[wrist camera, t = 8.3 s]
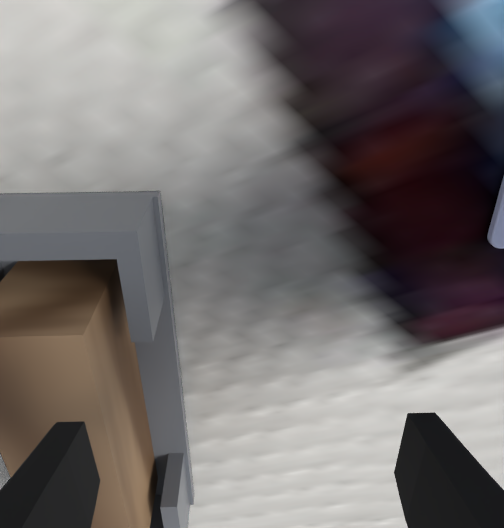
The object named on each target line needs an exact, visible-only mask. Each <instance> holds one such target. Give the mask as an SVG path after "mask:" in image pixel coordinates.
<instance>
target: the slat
mask: <svg viewBox="0 0 504 528" xmlns="http://www.w3.org/2000/svg"><path fill="white" fill-rule="evenodd" d="M79 421H84V422H85V425H86V429H87V433H88V436H89V440H90V444H91V448H92V451H93V455H94V459H95V462H96V466H97V470H98V473H99V477H100V485H99V490H98V495H97V501H96V506H95V511H94V515H93V520H92V525H91V528H150V523H151V517H152V511H153V505H154V500H155V494H156V488H157V482H158V475H157V469H156V463H155V458H154V452H153V446H152V440H151V434H150V429H149V423H148V417H147V411H146V405H145V400H144V394H143V388H142V382H141V376H140V371H139V365H138V359H137V353H136V347H135V342H131V338H130V333H129V327H128V321H127V315H126V310H125V304H124V298H123V293H122V287H121V281H120V276H119V270H118V264H117V259H100V260H45V261H18V262H17V263H16V264H15V265H14V267H13V268H12V269H11V270H10V271H9V272H8V273H7V275H6V276H5V277H4V278H3V279H2V280H1V282H0V453H1V456H2V458H3V460H4V463H5V465H6V467H7V470H8V472H9V475H10V477H12V476H13V474H14V473H15V472H16V471H17V470H18V468H19V467H20V466H21V465H22V464H23V462H24V461H25V460H26V459H27V457H28V456H29V455H30V454H31V452H32V451H33V450H34V449H35V447H36V446H37V445H38V444H39V442H40V441H41V440H42V439H43V437H44V436H45V435H46V434H47V432H48V431H49V430H50V429H51V427H52V426H53V425H54V424H55V423H56V422H79Z"/></svg>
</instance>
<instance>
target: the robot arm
mask: <svg viewBox="0 0 504 528" xmlns="http://www.w3.org/2000/svg"><path fill="white" fill-rule="evenodd" d="M487 239H488V241H489V243H490V244H491V245H492V246H494V247H495V248H500V249H503V248H504V176H503V180H502V184H501V187H500V191H499V194H498V198H497V202H496V205H495V209H494V213H493V216H492V220H491V224H490V227H489V231H488V235H487ZM394 474H395V478H396V482H397V487H398V491H399V495H400V500H401V504H402V508H403V512H404V516H405V520H406V523H407V526H408V528H504V490H503V489H502V488H501V487H500V486H499V485H498V483H497V482H496V481H495V480H494V479H493V478H492V477H491V476H490V475H489V474H488V472H487V471H486V470H485V469H484V468H483V467H482V466H481V465H480V464H479V462H478V461H477V460H476V459H475V458H474V457H473V456H472V455H471V453H470V452H469V451H468V450H467V449H466V448H465V447H464V445H463V444H462V443H461V442H460V441H459V440H458V438H457V437H456V436H455V435H454V434H453V433H452V431H451V430H450V429H449V428H448V427H447V426H446V425H445V423H444V422H443V421H442V420H441V419H440V418H439V416H438V415H436V414H435V413H408V414H407V418H406V423H405V427H404V432H403V436H402V440H401V445H400V449H399V454H398V458H397V462H396V467H395V471H394ZM99 485H100V477H99V473H98V470H97V466H96V462H95V459H94V455H93V451H92V448H91V444H90V440H89V436H88V433H87V429H86V425H85V422H84V421H79V422H56V423H55V424H54V425H53V426H52V427H51V429H50V430H49V431H48V432H47V434H46V435H45V436H44V437H43V439H42V440H41V441H40V442H39V444H38V445H37V446H36V447H35V449H34V450H33V451H32V452H31V454H30V455H29V456H28V457H27V459H26V460H25V461H24V462H23V464H22V465H21V466H20V467H19V468H18V470H17V471H16V472H15V473H14V474H13V476H12V477H11V478H10V479H9V481H8V482H7V483H6V484H5V485H4V486H3V488H2V489H1V490H0V528H91V525H92V520H93V515H94V511H95V506H96V501H97V495H98V490H99Z"/></svg>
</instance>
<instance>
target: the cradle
mask: <svg viewBox="0 0 504 528" xmlns="http://www.w3.org/2000/svg"><path fill="white" fill-rule="evenodd" d="M100 259H117V264H118V270H119V276H120V281H121V287H122V293H123V298H124V304H125V310H126V315H127V321H128V327H129V333H130V338H131V342H135V347H136V353H137V359H138V365H139V371H140V376H141V382H142V388H143V394H144V400H145V405H146V411H147V417H148V423H149V429H150V434H151V440H152V446H153V452H154V458H155V463H156V469H157V475H158V482H157V488H156V494H155V500H154V505H153V511H152V517H151V523H150V528H188V520H189V510H190V505H192V504H194V488H193V479H192V470H191V461H190V452H189V443H188V434H187V425H186V416H185V408H184V399H183V390H182V381H181V372H180V363H179V354H178V345H177V336H176V328H175V319H174V310H173V301H172V292H171V283H170V274H169V265H168V256H167V247H166V239H165V230H164V221H163V212H162V203H161V194H160V191H142V192H78V193H15V194H0V282H1V280H2V279H3V278H4V277H5V276H6V275H7V273H8V272H9V271H10V270H11V269H12V268H13V267H14V265H15V264H16V263H17V262H18V261H45V260H100Z"/></svg>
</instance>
